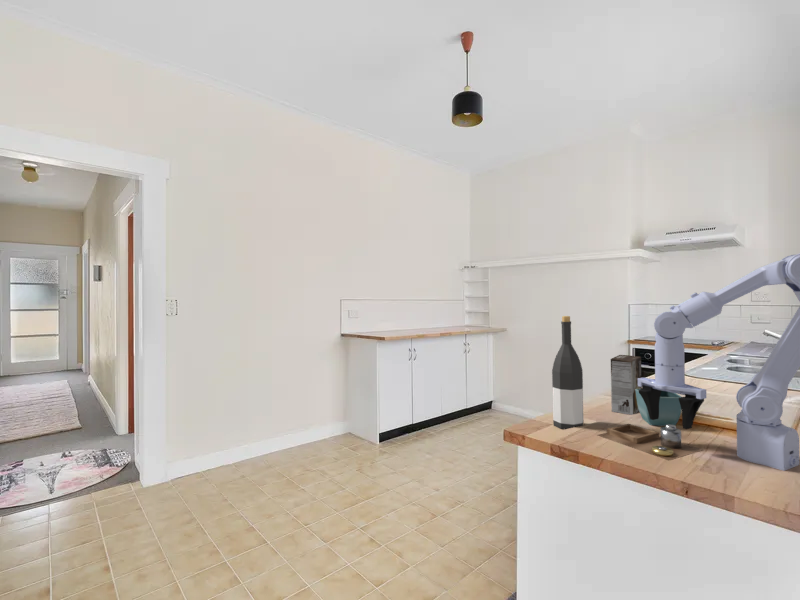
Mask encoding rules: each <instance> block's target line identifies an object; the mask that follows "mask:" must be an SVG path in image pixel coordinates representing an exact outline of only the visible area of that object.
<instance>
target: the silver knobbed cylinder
mask: <svg viewBox="0 0 800 600" xmlns="http://www.w3.org/2000/svg"><path fill="white" fill-rule="evenodd" d="M660 437H661V445H662V446H664V447H668V448H672V449H679V448H681V443H682V430H681V429H679V428H677V426H676V425H672V424H666V426H663V427H662V426H661V427H660Z"/></svg>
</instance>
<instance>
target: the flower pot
mask: <svg viewBox="0 0 800 600" xmlns="http://www.w3.org/2000/svg"><path fill="white" fill-rule="evenodd" d="M635 391H636V398H637V405H638V409H639V411H638V413H640V416H641V418H642V420H643V421H645V422H646V423H647V424H649V425H650V426H653V427H654V426H659V427H662V426H663V427H666V424H672V425H675V426H676V425H677V423H678V422H679V420H680V418H681V416H682V410H681V405H680V402H679V398H680V397H682V395H681V394H677V393H672V392H667V391H661V395H660V401H659V418H658V419H655V420H651V419H650V416H649V413H648V410H647V407H646V404H645V402H644V400H643V398H642V396H641V395H640V394H639V389H635Z"/></svg>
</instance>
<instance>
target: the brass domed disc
mask: <svg viewBox="0 0 800 600" xmlns="http://www.w3.org/2000/svg"><path fill="white" fill-rule="evenodd" d="M652 453H653V454H655V455H658V456H662V457H671V456H673V450H672V449H671V448H668V447H664V446H653V447H652Z"/></svg>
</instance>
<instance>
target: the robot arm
mask: <svg viewBox="0 0 800 600" xmlns="http://www.w3.org/2000/svg"><path fill="white" fill-rule="evenodd" d="M776 285H786V286H787V287H789V288H790V289H791V290H792V291H793V293H794V295H795V297H796V298H797V299H798V301H799V302H800V252H799V253H796V254H791V255H787V256H785V257H783V258H781V259H780V260H776V261H773V262H770V263H768V264H765V265H763V266H760V267H758V268H755V269H754V270H753V271H750V272H749V273H747V274H746V275H744V276H742V277H740V278H738V279H737V280H735V281H732V282H731V283H729V284H728V285H725V286H724V287H722V288H720V289H718V290H716V291H715V292H708V291H700V293H697V292H694V293H692V294H690V298H688V299H686V300H685V301H683V302H681V303H679V304H677V305H674V304H673V305H671V306H669V309H670V311H663V312H661V313H659V314H658V315H657V316H656V318H655V320H654V323H653V325H654V330H655V332H656V333H655V336H654V340H655V343H654V378H650V377H649V378H648V377H642V378H638V386H639V387H642V389H639V394H640V395H641V396H642V398H643V400H644V402H645V404H646V407H647V410H648V413H649V416H650V419H651V420H655V419H658V418H659V401H660V395H661V391H667V392H672V393H676V394H678V395H680V396H681V397H680V398H679V402H680V405H681V418H682V419H681V420H682V421H681V422H682V423H681V424H682V429H684V430H689V429H690V430H691V429H692V428H693V424H694V421H695V417H696V415H697V413H698V411H699V409H700V407H701V406H702V405H703V403H704V401H705V399H707V389H705V388H701V387H697V386H695V385H690V384H687V383H686V381H685V378H686V376H685V375H686V373H685V370H686V368H685V363H686V362H685V344H684V339H683V338H684V335H683V334H684V333H685V331H686V329H693V328H694V327H697V326H699V325H700V324H703V323H704V322H707V321H709V320H711V319H713V318H715V317H717V316H719V315H721V313H722V311H723V307H724V305H726V304H728V303H730V302H733V301H735V300H737V299H739V298H742V297H744V296H745V295H748V294H750V293H752V292H754V291H755V290H758V289H760V288H762V287H765V286H776ZM787 324H788V325H787V326H786V328H785V330H784V331H783V333H782V334H781V336H780V338H779V339H778V341H777V342H776V344H775V346H774V347H773V349H772V350H771V352H770V354H769V355H768V357H767V359H766V360H765V362H764V363H763V365H762V367H761V368H760V370H759V371H758V372H756V374H754V376H753V377H752V378H751V380H750V381H749V382H748V383H747V384H745V385H743V386H741V387H740V388H739V389H738V391H737V392H736V394H735V395H736V396H735V398H736V402H737V403H738V406H739V407H740V408H741V410H740V411H739V412H738V413H737V414H736V455H737V457H738V458H740V459H742V460H744V461H747V462H750V463H752V464H753V463H754V464H757V465H758V464H759V465H762V466H766V467H769V468H773V469H777V470H780V471H787V470H790V469H793V468H794V467H797V466H800V437H799V433H798V431H797V429H795V428H793V427H790V426H787V425H785V424H783V423H782V420H781V418H782V416H783V413H784V412H783V411H784V410H783V407H784V406H783V404H784V402H785V400H786V398H787V396H788V392H789V390H788V389H789V385H790V383H791V382H792V380H793V379H794V377H795V375H796V374H797V373H798V370H799V368H800V305H799V306H798V308H797V310H796V311H795V313H794V315H793V316H792V318H791V319H790V321H789V323H787Z"/></svg>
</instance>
